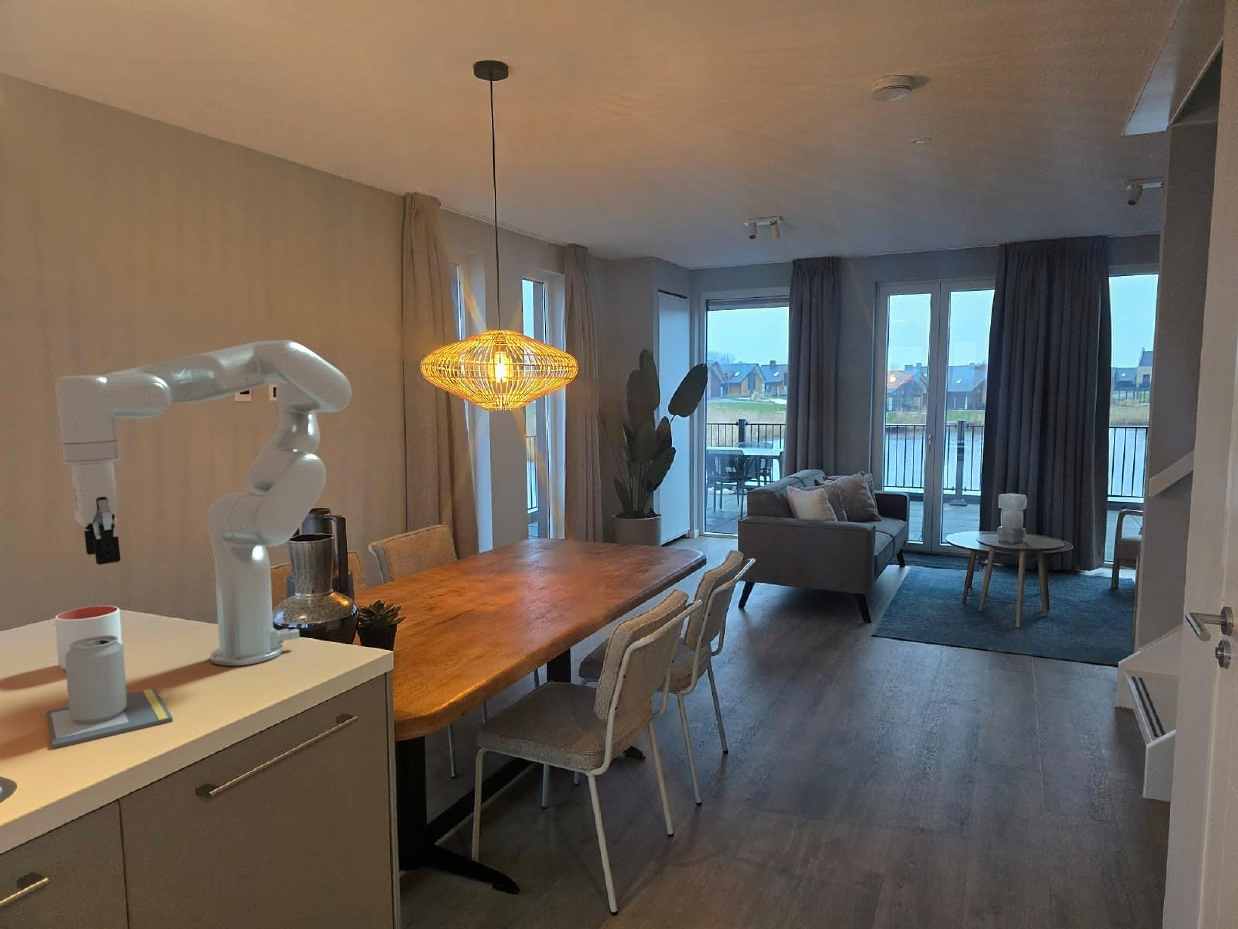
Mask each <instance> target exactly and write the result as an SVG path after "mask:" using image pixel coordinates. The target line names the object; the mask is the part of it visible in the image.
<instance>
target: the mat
mask: <svg viewBox="0 0 1238 929" xmlns="http://www.w3.org/2000/svg"><path fill="white" fill-rule="evenodd" d="M126 698H127V707H126V708H125V709H124V710H123V711H122V712H121V713H120V714H119V715H118V716H116V717H114V718H111V719H109V720H105V721H101V722H96V723H79V722H77V721H76V720H74V719H72V718H70V717H69V705H67V706H64V707H63V706H62V707H58V708H53V709H48V710H45V712H46V718H47V724H48V729H49V734H50V738H51V739H50V740H51V744H52V749H59V748H63V747H67V746H71V745H76V744H80V743H85V742H88V741H93V740H97V739H101V738H106V737H110V736H115V735H119V734H123V733H127V732H131V731H135V730H137V731H138V730H140V729H145V728H149V727H153V726H157V725H162V724H166V723H170V722H173V721H174V720H173V716H172V715H171V713H170V711H169V710H168V707H167V706H166V704H165V702H164V701H163V699H162V697H161V695H160V694H159V692H158V691H157V689H156V688H147V689H142V690H140V691H135V692H131V693H130V692H129V693H126Z"/></svg>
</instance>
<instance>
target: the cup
mask: <svg viewBox="0 0 1238 929" xmlns="http://www.w3.org/2000/svg"><path fill="white" fill-rule="evenodd" d="M54 620H55V621H54V622H55V634H56V635H55V636H56V646H57V647H56V649H57V661H58V662H57V664H58V665H59V667H60V668H61V669H62V670H64V671H66V661H65V655H66V653H67V652H68V651H69V650H70V649H71V647H70V644H71V643H73V642H74V641H77V640H80V639H84V638H88V637H94V636H104V635H111V636H116V637H118V640H117V642H119V643H120V644H121V645H123V643H122V629H121V628H122V627H121V611H120V608H119V607H117V606H114V605H98V606H97V605H96V606H88V607H87V606H86V607H85V606H84V607H80V608H74V609H70V610H67V611H66V610H65V611H64V612H61V613H59V614H57V615H56V616H55V617H54Z"/></svg>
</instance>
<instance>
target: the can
mask: <svg viewBox="0 0 1238 929" xmlns="http://www.w3.org/2000/svg"><path fill="white" fill-rule="evenodd" d="M117 640H118V637H116V636H111V635H104V636H94V637H88V638H84V639H80V640H77V641H74V642H73V643H71V644H70V647H71V649H70V650H69V651H68V652H67V653H66V655H65V661H66V670H65V671H66V672H65V674H66V675H65V676H66V687H67V689H66V690H67V701H68V706H69V717H70V718H72V719H74V720H76V721H77V722H79V723H96V722H101V721H105V720H109V719H111V718H114V717H116V716H118V715H119V714H120V713H121V712H122V711H123V710H124V709H125V708H126V707H127V698H126V694H127V687H126V686H127V683H126V672H125V656H124V654H125V653H124V652H125V651H124V645H123V644H122V645H121V644H120V643H119V642H117Z"/></svg>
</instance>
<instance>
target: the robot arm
mask: <svg viewBox="0 0 1238 929" xmlns="http://www.w3.org/2000/svg"><path fill="white" fill-rule="evenodd" d="M272 385H276V388H275V397H276V402H277V406H278V410H279V424H278V428H277V430H275V432H274V433H273V435H272V437H271V438H270V440H268V442H267V444H265V446H264V448H262V450H261V451H260V453H259V454H258V455H257V456H256V457H255V459H254V461H252V463H251V464H250V466H249V467H248V470H247V472H246V476H245V477H246V486H247V487H248V488H249V490H250V491H251V492H252V493H247V492H232V493H227V494H224V495H221V496H220V497H218V498H216V499H215V500H214V502H212V503H211V505H210V506H209V508H208V510H207V511H208V512H207V514H206V527H207V532H208V535H209V539H210V542H211V546H212V547H211V548H212V552H213V557H214V558H213V560H214V570H215V571H214V572H215V589H216V590H215V592H216V595H215V596H216V608H217V609H216V610H217V626H218V627H217V629H218V632H217V633H218V645H219V646H218V648H216V649H214V650H213V651H212V652H211V654H210V662H211V663H213V664H215V665H218V666H224V667H225V666H226V667H229V666H230V667H231V666H232V667H235V666H246V665H252V664H253V665H254V664H258V663H263V662H265V661H270V660H272V659H274V658H277V657H278V656H280V655H281V654H282V653H283V651H284V648H283V644H282V643H283V642H284V641H291V640H297V639H300V635H301V634H300V630H299V628H294V629H289V628H283V629H279V630H278V629H276V628H275V627H274V622H273V620H274V619H273V618H274V616H273V600H272V597H273V596H272V578H271V577H272V576H271V561H270V556H269V554H268V550H267V548H266V547H277V546H280V545H282V544H284V543H286V542H288V541H289V540H290V539H291V538H292V537H293V536H294V534H296V533H297V531H298V529H299V528H300V527H301V525H302V524H303V522H304V521H305V519H306V518H307V516H308V515H309V514H310V512H311V511H312V509H313V508H314V506H315V505H316V503H317V502H318V500H319V499H320V497H321V495H322V494H323V492H324V489H325V486H326V484H327V482H326V481H327V470H326V466H325V463H324V462H323V460H322V459H321V458H320V457H318V455H316V454H315V453H316V451H317V450H318V447H319V445H320V442H321V432H320V428H319V424H318V419H317V414H316V413H322V414H323V413H331V414H332V413H338V412H340V411H342V410H344V409H345V408H346V407H347V406H348V405H349V404H350V402H351V399H352V395H353V394H352V393H353V391H352V386H351V383H350V381H349V380H348V378H347V377H346V376H345V374H344V373H343V372H341V371H340V370H339V369H338V368H336V367H335V366H333V365H332V364H330V363H329V362H328V361H326V360H325V359H323V358H322V357H321V356H319V355H317V354H316V353H315V352H314V351H312V350H310V349H309V348H307V347H305V346H304V345H302V344H301V343H298V342H296V341H293V340H290V339H289V340H287V339H281V340H261V341H253V342H249V343H244V344H240V345H235V346H232V347H226V348H222V349H218V350H212V351H207V352H203V353H199V354H194V355H189V356H183V357H179V358H175V359H171V360H166V361H162V362H156V363H152V364H147V365H142V366H141V365H140V366H137V367H132V368H127V369H123V370H118V371H114V372H109V373H106V374H103V375H99V374H98V375H97V374H95V375H94V374H91V375H87V374H86V375H83V374H82V375H65V376H62V377H60V378H58V379H57V381H56V383H55V394H56V401H57V410H58V418H59V427H60V428H59V429H60V435H61V446H62V453H63V454H62V455H63V463H64V465H71V479H72V480H71V482H72V494H73V495H72V496H73V504H74V505H73V506H74V507H73V508H74V509H73V510H74V519H75V521H76V522H77V523H78V524H79V525H81V526H82V527H84V531H83V533H84V542H85V550H86V554H87V555H89V556H92V555H94V556H95V557H94V558H95V563H96V564H97V565H106V564H112V563H113V564H114V563H119V562H120V561H121V552H120V541H119V536H118V531H117V528H116V523H117V522H118V521H119V506H118V494H117V493H118V492H117V485H116V479H115V478H116V476H115V475H116V474H115V469H114V463H113V462H120V461H121V451H120V443H119V442H120V441H119V434H118V432H119V431H118V423H117V422H118V421H117V419H150V418H151V419H152V418H154V417H157V416H159V415H161V414H162V413H164V412H165V411H166V410H167V409H168V408H169V406H170V405H172V404H173V405H174V404H179V403H181V404H182V403H197V402H207V401H214V400H219V399H223V398H226V397H229V396H233V395H236V394H239V393H243V392H246V391H251V390H254V389H258V388H261V387H267V386H272Z"/></svg>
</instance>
